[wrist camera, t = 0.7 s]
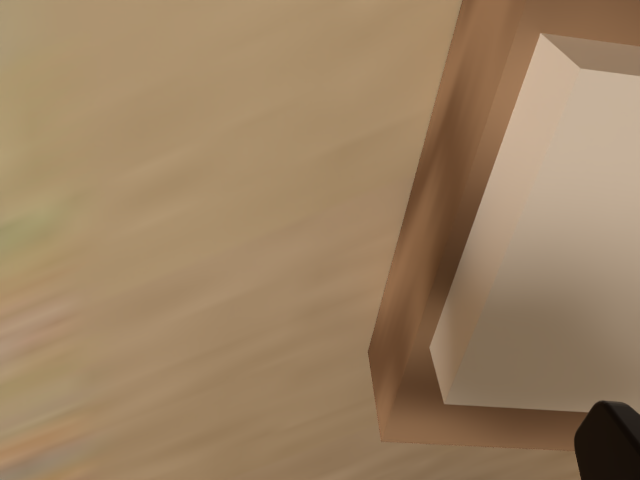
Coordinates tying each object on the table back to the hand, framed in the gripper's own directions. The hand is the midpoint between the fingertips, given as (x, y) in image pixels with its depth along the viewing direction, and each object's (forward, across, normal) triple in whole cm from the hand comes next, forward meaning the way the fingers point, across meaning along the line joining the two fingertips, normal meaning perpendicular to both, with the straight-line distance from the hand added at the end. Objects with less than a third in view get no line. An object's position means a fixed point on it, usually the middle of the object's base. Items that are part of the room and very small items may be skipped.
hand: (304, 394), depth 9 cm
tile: (+6, -7, 0) cm, 10 cm away
